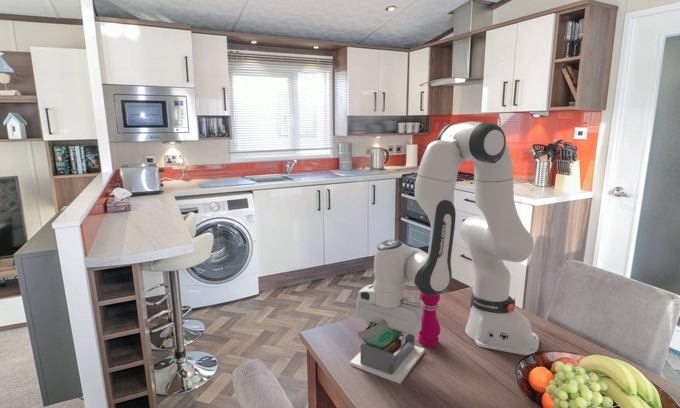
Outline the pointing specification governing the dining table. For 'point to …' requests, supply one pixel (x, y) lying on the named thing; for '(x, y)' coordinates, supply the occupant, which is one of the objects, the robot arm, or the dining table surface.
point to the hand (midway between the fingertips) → (386, 338)
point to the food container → (380, 337)
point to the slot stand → (389, 359)
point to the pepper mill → (429, 321)
